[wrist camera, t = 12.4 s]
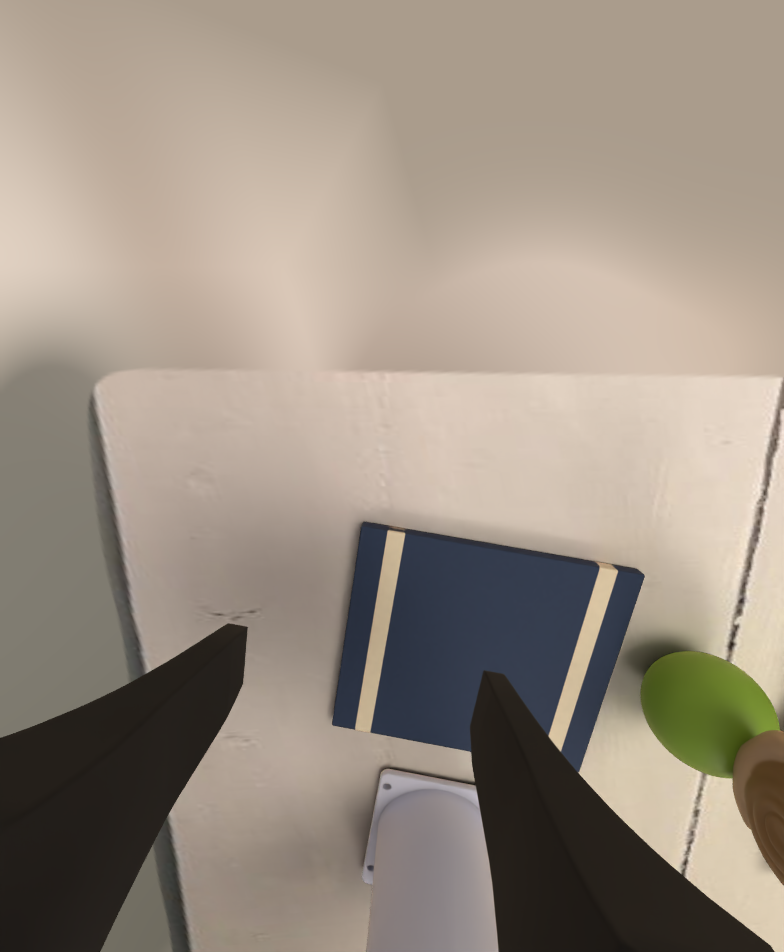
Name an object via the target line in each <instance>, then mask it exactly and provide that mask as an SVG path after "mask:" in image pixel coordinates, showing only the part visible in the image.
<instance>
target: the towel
mask: <svg viewBox="0 0 784 952" xmlns="http://www.w3.org/2000/svg"><path fill="white" fill-rule="evenodd" d="M644 577H645V576H644V574H643V573H641V572H640V571H639V570H638V569H635V568H629V567H623V566H617V565H612V564H607V563H601V562H595V561H589V560H583V559H577V558H571V557H565V556H560V555H554V554H548V553H542V552H537V551H531V550H525V549H519V548H514V547H508V546H502V545H496V544H491V543H485V542H479V541H473V540H467V539H462V538H456V537H450V536H444V535H439V534H433V533H427V532H421V531H416V530H410V529H405V528H399V527H393V526H387V525H381V524H375V523H370V522H363V524H362V526H361V531H360V538H359V545H358V552H357V558H356V565H355V572H354V579H353V585H352V592H351V599H350V606H349V612H348V619H347V626H346V633H345V639H344V646H343V653H342V660H341V667H340V673H339V680H338V687H337V694H336V700H335V707H334V714H333V721H332V725H333V726H339V727H344V728H349V729H354V730H357V731H363V732H368V733H375V734H381V735H386V736H391V737H397V738H402V739H407V740H412V741H418V742H423V743H428V744H433V745H439V746H444V747H449V748H454V749H460V750H465V751H470V752H471V739H470V724H471V720H472V716H473V711H474V707H475V703H476V699H477V695H478V691H479V687H480V683H481V679H482V675H483V671H484V670H486V671H491V672H496V673H502V674H505V676H506V677H507V679H508V680H509V682H510V683H511V684H512V686H513V687H514V689H515V690H516V692H517V693H518V695H519V696H520V697H521V699H522V700H523V702H524V703H525V705H526V706H527V707H528V709H529V710H530V712H531V713H532V715H533V716H534V717H535V719H536V720H537V721H538V723H539V724H540V726H541V727H542V728H543V730H544V731H545V732H546V734H547V735H548V736H549V738H550V739H551V740H552V741H553V743H554V744H555V745H556V747H557V748H558V749H559V750H560V752H561V753H562V754H563V755H564V756H565V758H566V759H567V760H568V761H569V763H570V764H571V765H572V766H573V767H574V769H575V770H576V771H577V772H579V770H580V767H581V764H582V761H583V758H584V755H585V753H586V750H587V747H588V744H589V741H590V738H591V735H592V732H593V729H594V726H595V723H596V720H597V717H598V714H599V711H600V708H601V705H602V702H603V699H604V696H605V693H606V690H607V687H608V684H609V681H610V678H611V675H612V672H613V669H614V666H615V663H616V660H617V657H618V654H619V651H620V648H621V645H622V642H623V639H624V636H625V633H626V630H627V627H628V624H629V621H630V618H631V616H632V613H633V610H634V607H635V604H636V601H637V598H638V595H639V592H640V589H641V586H642V583H643V580H644Z"/></svg>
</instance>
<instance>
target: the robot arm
mask: <svg viewBox="0 0 784 952" xmlns="http://www.w3.org/2000/svg"><path fill="white" fill-rule="evenodd" d="M247 629H248V627H246V626H240V625H235V624H229V623H228V624H226V625H225V626H223V627H221V628H220V629H218V630H217V631H215V632H214V633H212V634H210V635H209V636H207V637H206V638H204V639H203V640H201V641H200V642H198V643H196V644H195V645H193V646H192V647H190V648H189V649H187V650H185V651H184V652H182V653H181V654H179V655H177V656H176V657H174V658H173V659H171V660H169V661H168V662H166V663H164V664H163V665H161V666H159V667H157V668H155V669H154V670H152V671H150V672H148V673H147V674H145V675H143V676H141V677H140V678H138V679H136V680H134V681H133V682H131V683H129V684H127V685H125V686H123V687H121V688H119V689H117V690H116V691H113V692H111V693H109V694H107V695H105V696H103V697H101V698H99V699H97V700H94V701H92V702H90V703H88V704H86V705H84V706H81V707H79V708H77V709H74V710H72V711H70V712H67V713H65V714H62V715H60V716H57V717H55V718H52V719H50V720H47V721H45V722H43V723H40V724H38V725H35V726H32V727H30V728H27V729H24V730H22V731H19V732H16V733H13V734H11V735H8V736H5V737H2V738H0V952H100V951H101V949H102V947H103V945H104V942H105V940H106V938H107V936H108V934H109V932H110V930H111V928H112V926H113V923H114V921H115V919H116V917H117V915H118V912H119V911H120V909H121V907H122V905H123V903H124V901H125V899H126V897H127V894H128V893H129V891H130V889H131V887H132V885H133V883H134V881H135V879H136V877H137V875H138V872H139V870H140V868H141V866H142V864H143V862H144V860H145V858H146V856H147V855H148V853H149V851H150V849H151V847H152V845H153V843H154V841H155V839H156V837H157V835H158V833H159V831H160V829H161V827H162V825H163V823H164V821H165V820H166V818H167V816H168V814H169V812H170V811H171V809H172V807H173V805H174V804H175V802H176V800H177V798H178V797H179V795H180V794H181V792H182V790H183V789H184V787H185V785H186V784H187V782H188V781H189V779H190V777H191V776H192V774H193V773H194V771H195V769H196V768H197V766H198V764H199V763H200V761H201V760H202V758H203V756H204V755H205V753H206V752H207V750H208V748H209V747H210V745H211V743H212V742H213V740H214V738H215V737H216V735H217V734H218V732H219V730H220V729H221V727H222V725H223V724H224V722H225V720H226V719H227V717H228V715H229V713H230V711H231V709H232V706H233V704H234V702H235V700H236V698H237V696H238V694H239V691H240V689H241V687H242V685H243V678H244V665H245V653H246V641H247ZM470 739H471V755H472V766H473V772H474V778H475V784H476V786H475V785H470V784H465V783H460V782H455V781H450V780H444V779H439V778H434V777H429V776H424V775H418V774H413V773H408V772H403V771H398V770H392V769H385V770H383V771H382V772H381V775H380V780H379V786H378V791H377V796H376V801H375V807H374V812H373V817H372V823H371V828H370V833H369V838H368V844H367V849H366V854H365V860H364V865H363V870H362V880H363V881H364V882H365V883H367V884H371V885H372V895H371V906H370V916H369V927H368V937H367V948H366V952H774V950H773V949H772V947H771V946H770V945H769V944H768V943H766V942H765V941H764V940H762V939H761V938H760V937H759V936H757V935H756V934H755V933H753V932H752V931H751V930H750V929H748V928H747V927H746V926H744V925H743V924H742V923H741V922H739V921H738V920H737V919H735V918H734V917H733V916H732V915H730V914H729V913H728V912H726V911H725V910H724V909H723V908H721V907H720V906H719V905H717V904H716V903H715V902H714V901H712V900H711V899H710V898H709V897H707V896H706V895H705V894H704V893H702V892H701V891H700V890H699V889H698V888H697V887H695V886H694V885H693V884H692V883H691V882H690V881H688V880H687V879H686V878H685V877H684V876H683V875H681V874H680V873H679V872H678V871H677V870H676V869H674V868H673V867H672V866H671V865H670V864H669V863H668V862H666V861H665V860H664V859H663V858H662V857H661V856H660V855H659V854H658V853H656V852H655V851H654V850H653V849H652V848H651V847H650V846H649V845H648V844H647V843H646V842H645V841H643V840H642V839H641V838H640V837H639V836H638V835H637V834H636V833H635V832H634V831H633V830H632V829H631V828H630V827H629V826H628V825H627V824H626V823H625V822H624V821H623V820H622V819H621V818H620V817H619V816H618V815H617V814H616V813H615V812H614V811H613V810H612V809H611V808H610V807H609V806H608V805H607V804H606V803H605V802H604V801H603V800H602V799H601V798H600V796H599V795H598V794H597V793H596V792H595V791H594V790H593V789H592V788H591V787H590V786H589V785H588V784H587V782H586V781H585V780H584V779H583V778H582V777H581V776H580V774H579V773H578V772H577V771H576V770H575V769H574V767H573V766H572V765H571V764H570V763H569V761H568V760H567V759H566V758H565V756H564V755H563V754H562V753H561V752H560V750H559V749H558V748H557V747H556V745H555V744H554V743H553V741H552V740H551V739H550V738H549V736H548V735H547V734H546V732H545V731H544V730H543V728H542V727H541V726H540V724H539V723H538V721H537V720H536V719H535V717H534V716H533V715H532V713H531V712H530V710H529V709H528V707H527V706H526V705H525V703H524V702H523V700H522V699H521V697H520V696H519V695H518V693H517V692H516V690H515V689H514V687H513V686H512V684H511V683H510V682H509V680H508V679H507V677H506V676H505V674H502V673H496V672H491V671H486V670H484V671H483V675H482V679H481V683H480V687H479V691H478V695H477V699H476V703H475V707H474V711H473V716H472V720H471V724H470Z"/></svg>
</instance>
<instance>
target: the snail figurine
mask: <svg viewBox="0 0 784 952" xmlns="http://www.w3.org/2000/svg"><path fill="white" fill-rule="evenodd" d="M641 705H642V709H643V713H644V716H645V718H646V720H647V723H648V725H649V727H650V728H651V730H652V732H653V733H654V735H655V736H656V737H657V739H658V740H659V741H660V742H661V744H662V745H663V746H664V747H665V748H666V749H667V750H668V751H669V752H670V753H672V754H673V755H674V756H675V757H676V758H678V759H679V760H680V761H682V762H683V763H685V764H687V765H688V766H690V767H692V768H694V769H696V770H698V771H700V772H703V773H706V774H709V775H712V776H716V777H721V778H733V792H734V796H735V800H736V803H737V806H738V809H739V811H740V814H741V816H742V818H743V820H744V822H745V824H746V825H747V827H748V828H749V829H751V830H752V833H753V836H754V838H755V840H756V843H757V845H758V847H759V849H760V851H761V853H762V855H763V857H764V858H765V860H766V862H767V863H768V865H769V866H770V868H771V870H772V871H773V872H774V874H775V875H776V876H777V878H778V879H779V880H780V882H781V883H782V884H783V885H784V731H780V726H779V721H778V718H777V715H776V712H775V710H774V707H773V705H772V703H771V702H770V700H769V698H768V697H767V695H766V694H765V692H764V691H763V690H762V689H761V687H760V686H759V685H758V684H757V683H756V682H755V681H754V680H753V679H752V678H751V677H750V676H749V675H747V674H746V673H745V672H744V671H742V670H741V669H740V668H738V667H737V666H735V665H733V664H732V663H730V662H728V661H726V660H724V659H722V658H719V657H717V656H714V655H710V654H707V653H702V652H695V651H681V652H675V653H671V654H668V655H665V656H663V657H661V658H660V659H658V660H657V661H655V662H654V663H653V664H652V665H651V666H650V667H649V669H648V670H647V672H646V674H645V676H644V678H643V681H642V685H641Z"/></svg>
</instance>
